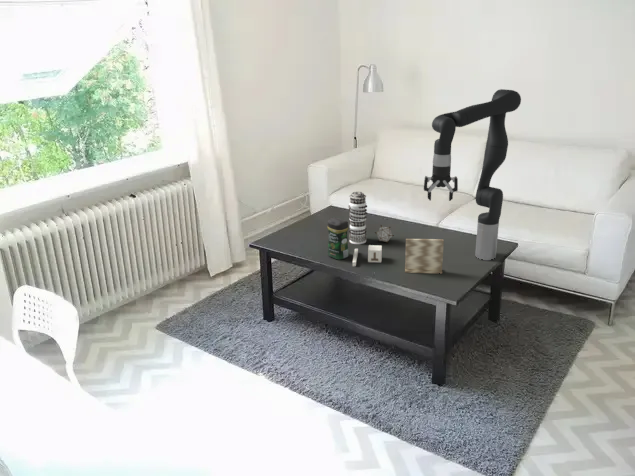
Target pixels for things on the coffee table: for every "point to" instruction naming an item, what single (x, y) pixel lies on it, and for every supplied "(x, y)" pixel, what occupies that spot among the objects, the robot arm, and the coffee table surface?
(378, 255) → the letter cube
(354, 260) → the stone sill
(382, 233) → the game die
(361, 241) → the decorative candle
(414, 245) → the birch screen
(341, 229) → the coffee jar
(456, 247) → the coffee table surface
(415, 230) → the coffee table surface
